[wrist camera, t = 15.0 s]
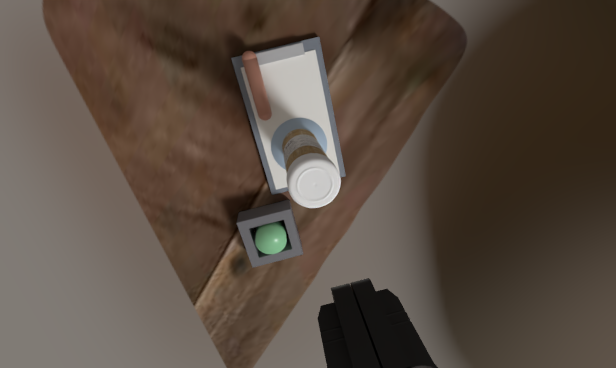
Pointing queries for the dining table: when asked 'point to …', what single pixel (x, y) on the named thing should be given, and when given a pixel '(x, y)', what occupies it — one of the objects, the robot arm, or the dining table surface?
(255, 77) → the pink rounded rod
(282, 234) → the button
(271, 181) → the tray with round recess
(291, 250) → the button box
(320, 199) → the sprinkles bottle
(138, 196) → the dining table surface
